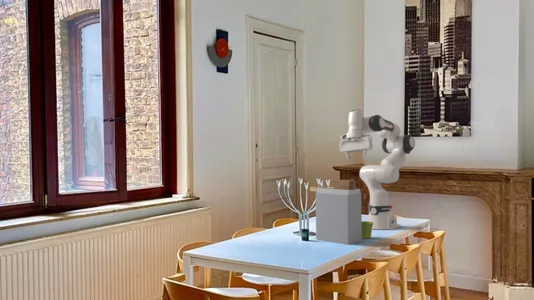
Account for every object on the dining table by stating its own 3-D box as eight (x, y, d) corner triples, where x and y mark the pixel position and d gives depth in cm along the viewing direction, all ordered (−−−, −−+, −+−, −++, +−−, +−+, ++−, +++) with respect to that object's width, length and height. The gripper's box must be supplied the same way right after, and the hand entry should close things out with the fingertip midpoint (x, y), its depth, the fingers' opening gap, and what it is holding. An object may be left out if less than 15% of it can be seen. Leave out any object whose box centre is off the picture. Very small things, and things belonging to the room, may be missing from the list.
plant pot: (372, 239, 302) (372, 224, 302) (355, 239, 305) (355, 223, 305) (374, 236, 311) (374, 221, 311) (358, 236, 314) (358, 221, 314)
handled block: (314, 190, 317) (314, 178, 317) (355, 193, 296) (355, 180, 296) (307, 191, 313) (307, 178, 313) (348, 194, 292) (348, 181, 292)
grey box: (330, 236, 314) (329, 186, 313) (361, 241, 298) (361, 188, 297) (316, 239, 305) (315, 188, 305) (347, 244, 290) (347, 190, 289)
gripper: (374, 135, 324) (374, 158, 321) (343, 139, 336) (343, 161, 333) (369, 132, 319) (369, 155, 316) (338, 136, 331) (338, 159, 328)
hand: (355, 158), depth 325 cm, fingers open, 8 cm apart
